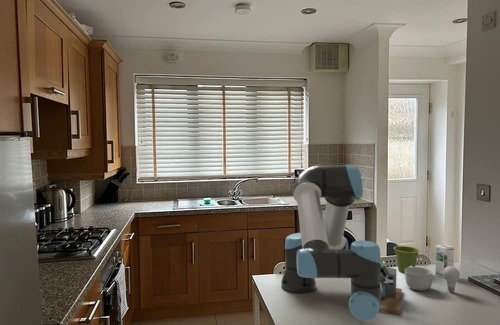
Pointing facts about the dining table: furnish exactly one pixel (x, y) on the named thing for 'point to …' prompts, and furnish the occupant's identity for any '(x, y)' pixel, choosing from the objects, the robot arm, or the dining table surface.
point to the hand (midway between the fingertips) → (376, 262)
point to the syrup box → (443, 258)
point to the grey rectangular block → (391, 288)
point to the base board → (391, 303)
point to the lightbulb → (451, 277)
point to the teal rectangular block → (384, 285)
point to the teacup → (418, 278)
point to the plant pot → (406, 257)
